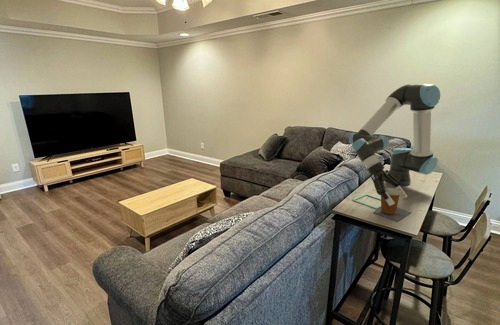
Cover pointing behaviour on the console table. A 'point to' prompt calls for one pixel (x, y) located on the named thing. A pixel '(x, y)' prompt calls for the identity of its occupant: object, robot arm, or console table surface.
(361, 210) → the console table surface
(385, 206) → the disposable coffee cup
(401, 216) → the charcoal mat
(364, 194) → the teal frame
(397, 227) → the console table surface
